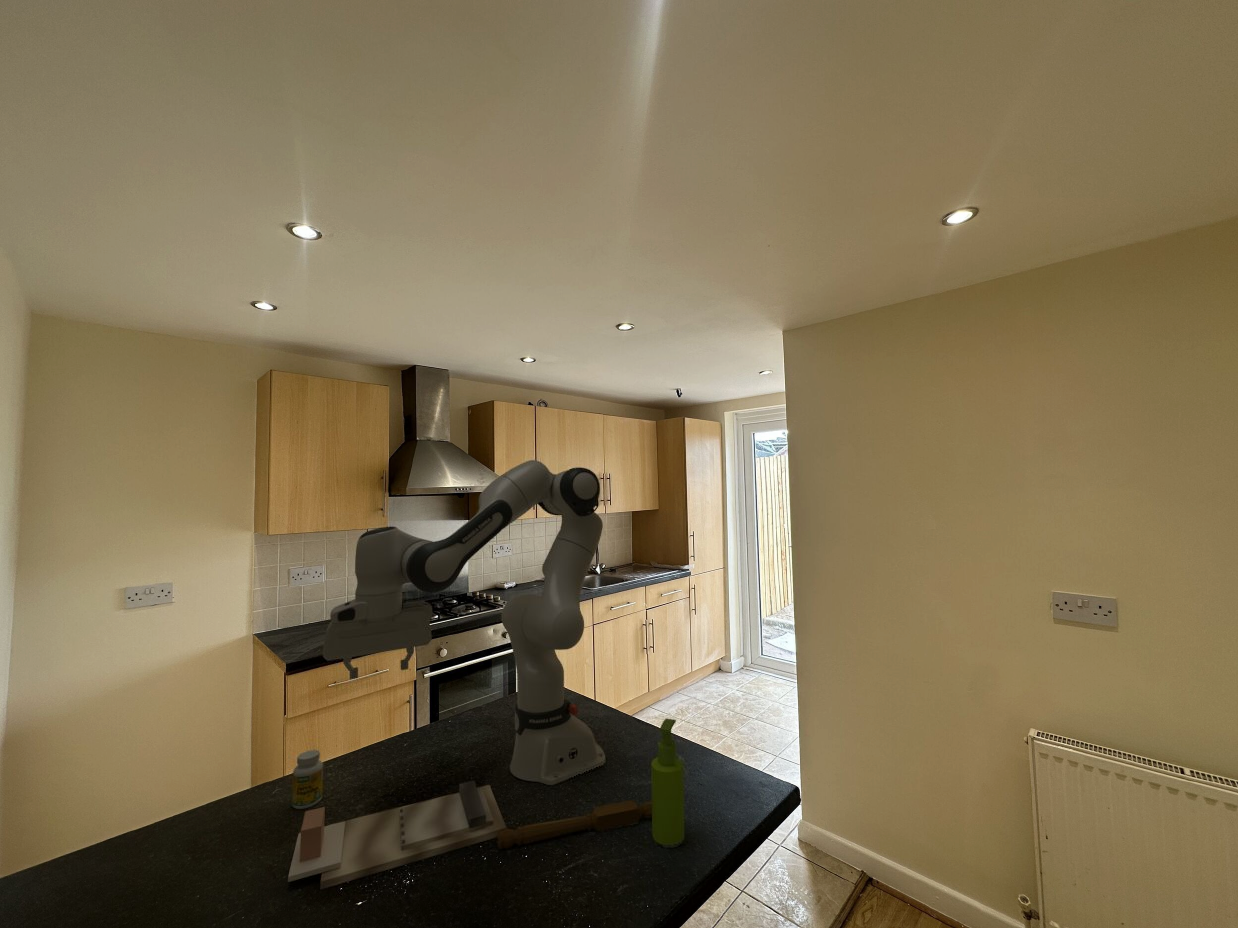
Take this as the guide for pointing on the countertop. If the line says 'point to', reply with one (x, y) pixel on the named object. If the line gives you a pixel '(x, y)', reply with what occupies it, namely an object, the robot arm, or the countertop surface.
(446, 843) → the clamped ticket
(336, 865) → the stub
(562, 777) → the robot arm
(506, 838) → the tap handle
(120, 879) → the countertop surface
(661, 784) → the soap dispenser
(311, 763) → the supplement bottle
